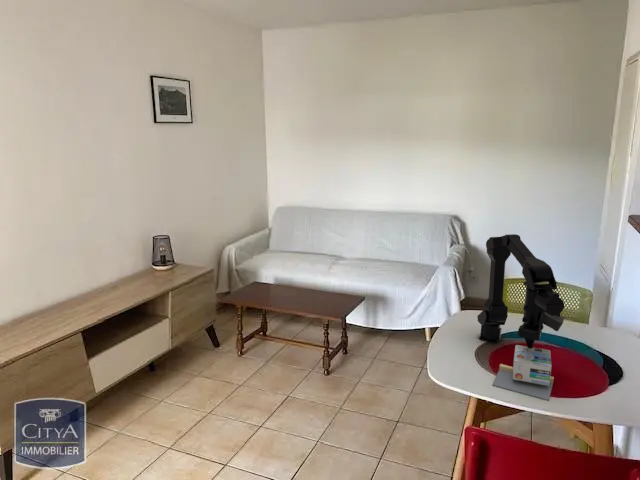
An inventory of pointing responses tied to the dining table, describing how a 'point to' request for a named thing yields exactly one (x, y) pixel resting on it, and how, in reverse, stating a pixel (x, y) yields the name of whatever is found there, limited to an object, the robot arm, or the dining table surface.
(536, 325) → the robot arm
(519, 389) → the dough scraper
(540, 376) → the light bulb box
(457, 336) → the dining table surface
